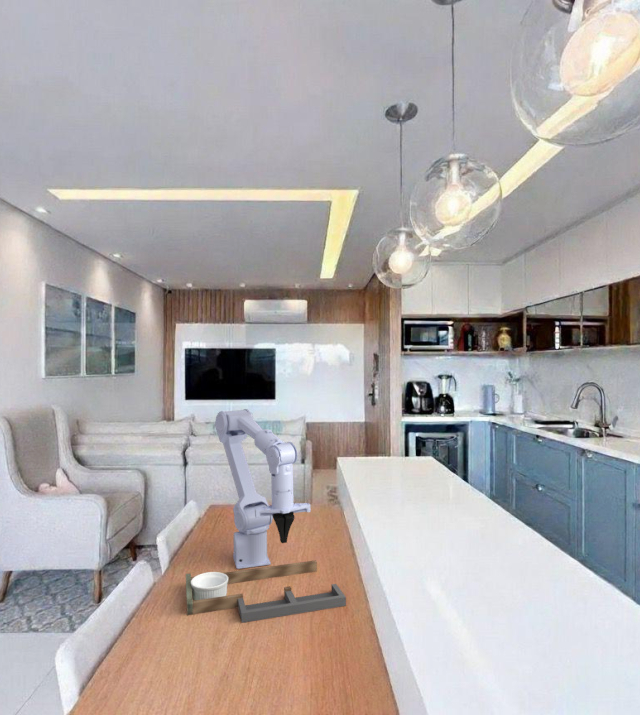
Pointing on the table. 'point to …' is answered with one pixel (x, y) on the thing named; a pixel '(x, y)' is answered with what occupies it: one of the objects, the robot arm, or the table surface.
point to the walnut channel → (243, 576)
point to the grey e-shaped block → (291, 605)
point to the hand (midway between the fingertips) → (283, 541)
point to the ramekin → (209, 585)
